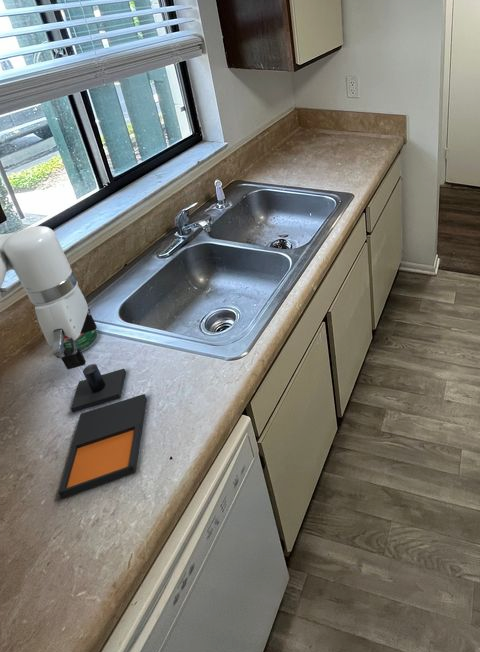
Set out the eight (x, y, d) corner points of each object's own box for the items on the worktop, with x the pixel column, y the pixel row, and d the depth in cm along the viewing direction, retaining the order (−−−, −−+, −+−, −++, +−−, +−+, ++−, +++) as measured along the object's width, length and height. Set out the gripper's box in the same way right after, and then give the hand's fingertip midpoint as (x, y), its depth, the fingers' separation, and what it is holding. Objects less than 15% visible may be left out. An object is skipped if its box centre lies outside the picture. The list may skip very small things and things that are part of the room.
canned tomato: (88, 325, 115) (74, 293, 111) (104, 337, 112) (90, 305, 107) (54, 347, 109) (37, 314, 104) (70, 360, 106) (54, 327, 101)
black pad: (72, 412, 93) (60, 389, 90) (81, 385, 99) (70, 362, 96) (120, 398, 96) (110, 375, 93) (126, 372, 102) (116, 350, 99)
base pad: (60, 499, 79) (57, 493, 78) (83, 419, 92) (80, 413, 91) (135, 472, 83) (133, 466, 82) (146, 399, 96) (144, 393, 95)
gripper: (43, 264, 91) (73, 323, 99) (11, 323, 77) (49, 388, 84) (85, 255, 93) (111, 313, 101) (62, 311, 79) (94, 374, 86)
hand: (83, 347), depth 93 cm, fingers open, 9 cm apart
